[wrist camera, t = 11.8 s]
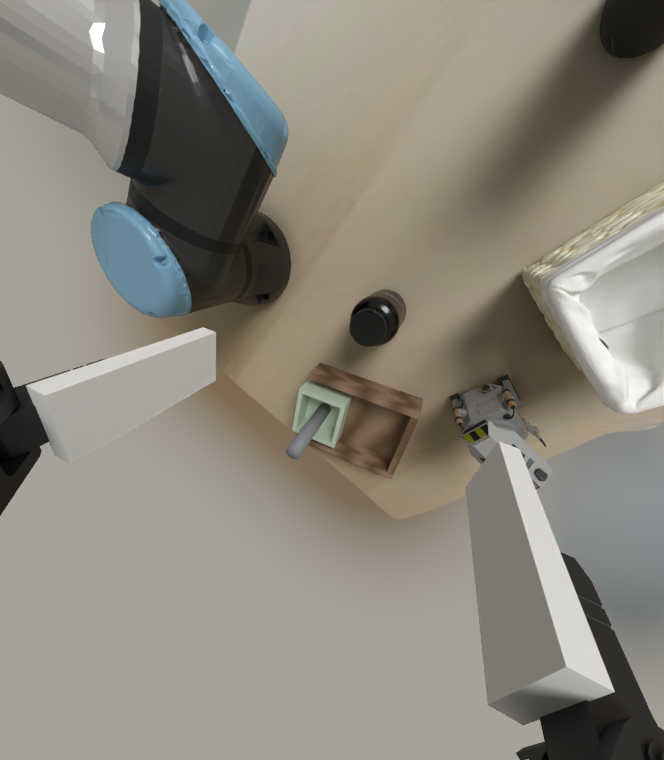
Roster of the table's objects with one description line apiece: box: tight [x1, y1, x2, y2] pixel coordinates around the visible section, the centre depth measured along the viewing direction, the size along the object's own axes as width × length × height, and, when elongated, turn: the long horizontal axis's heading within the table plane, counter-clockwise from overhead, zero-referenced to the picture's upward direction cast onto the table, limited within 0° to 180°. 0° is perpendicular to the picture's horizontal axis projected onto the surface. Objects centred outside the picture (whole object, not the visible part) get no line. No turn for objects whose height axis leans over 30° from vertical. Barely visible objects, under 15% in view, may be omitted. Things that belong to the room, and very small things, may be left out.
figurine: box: [450, 375, 553, 489], centre depth 38 cm, size 9×12×15 cm
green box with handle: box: [286, 379, 353, 459], centre depth 48 cm, size 9×10×15 cm
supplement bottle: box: [350, 290, 406, 347], centre depth 39 cm, size 7×7×12 cm
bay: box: [309, 363, 423, 479], centre depth 52 cm, size 20×16×5 cm
